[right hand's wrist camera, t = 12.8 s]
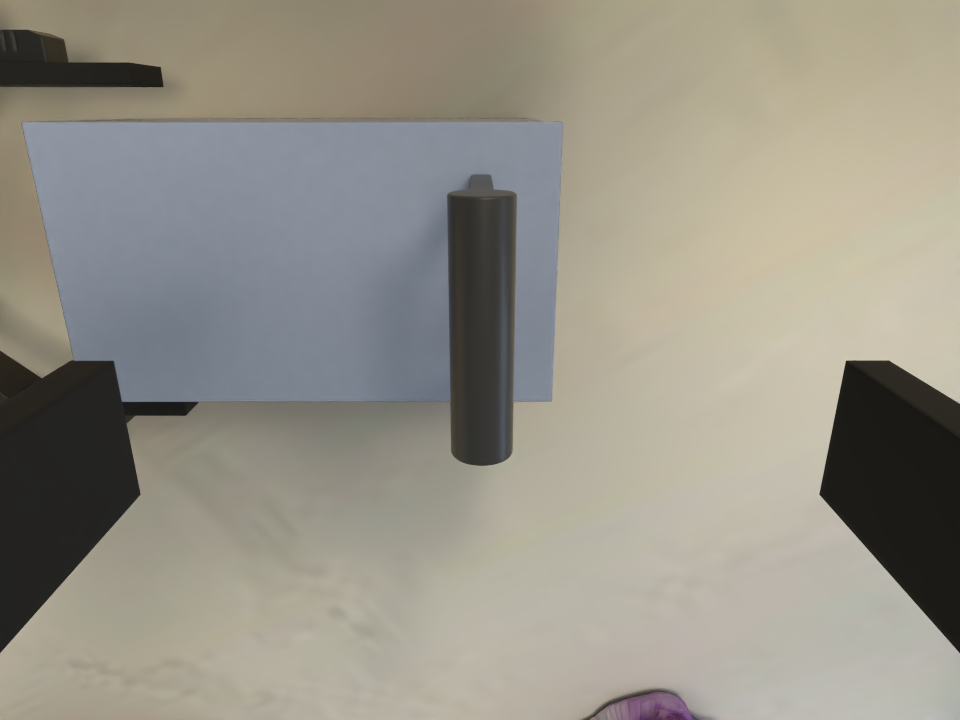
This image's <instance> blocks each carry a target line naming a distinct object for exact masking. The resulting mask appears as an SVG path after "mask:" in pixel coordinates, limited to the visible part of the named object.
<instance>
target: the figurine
mask: <svg viewBox="0 0 960 720" xmlns="http://www.w3.org/2000/svg"><path fill="white" fill-rule="evenodd" d="M589 720H697V719H696V718H694V717H693V716H692V715H691V714H690V713H689V711H688V709H687V706H686V704H685V702H684V701H683V700H682V699H681V698H679V697H678V696H676V695H675V694H669V693H665V692H653V693H650V694H646V695H641V696H637V697H632V698H628V699H624V700H621V701H618V702H616V703H613V704H609V705H608V706H607V707H606V708H604V709H603V710H601V711H600V712H599V713H598V714H596V716H595V717H593V718H591V719H589Z"/></svg>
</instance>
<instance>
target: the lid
mask: <svg viewBox="0 0 960 720" xmlns="http://www.w3.org/2000/svg"><path fill="white" fill-rule="evenodd" d="M22 128H23V132H24V137H25V141H26V146H27V150H28V155H29V159H30V164H31V168H32V173H33V177H34V182H35V186H36V191H37V196H38V200H39V205H40V209H41V214H42V218H43V223H44V227H45V232H46V236H47V241H48V245H49V250H50V254H51V259H52V263H53V268H54V272H55V277H56V282H57V286H58V291H59V295H60V300H61V304H62V309H63V313H64V318H65V322H66V327H67V331H68V336H69V340H70V345H71V349H72V354H73V358H74V361H114V364H115V369H116V374H117V379H118V384H119V389H120V394H121V399H122V402H450V410H451V452H452V454H453V456H454V457H455V458H456V459H457V460H459V461H461V462H463V463H466V464H470V465H478V466H486V465H494V464H498V463H501V462H503V461H505V460H506V459H508V458H509V457H510V455H511V454H512V447H513V402H544V401H552V383H553V358H554V332H555V307H556V282H557V257H558V232H559V207H560V182H561V157H562V132H563V122H559V121H37V122H22Z"/></svg>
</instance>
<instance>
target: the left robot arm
mask: <svg viewBox="0 0 960 720" xmlns="http://www.w3.org/2000/svg"><path fill="white" fill-rule="evenodd" d="M0 86H2V87H163V80H162V73H161V67H156V66H149V65H141V64H134V63H68V58H67V53H66V48H65V42H64V39H61V38H59V37H56V36H54V35H52V34H48V33H42V32H36V31H31V30H0ZM40 379H42V378H40V377H39V376H37V375H36V374H34V373H33V372H31V371H30V370H28V369H27V368H25V367H24V366H22V365H21V364H19V363H18V362H16V361H15V360H13V359H12V358H10V357H9V356H7V355H6V354H4V353H3V352H1V351H0V404H1V403H3V402H4V401H6V400H7V399H9V398H11V397H12V396H14V395H16V394H17V393H19V392H21V391H22V390H24V389H26V388H27V387H29V386H30V385H32V384H34V383H35V382H37V381H39V380H40ZM197 403H198V402H122V404H123V409H124V414H125V419H126V424H127V423H128V422H129V421H130V420H131V419H132V418H133V417H134V416H135V415H155V416H186V415H187V414H188V413H189V412H190V411H191V410H192V409H193V408H194V407H195V406H196V404H197Z"/></svg>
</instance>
